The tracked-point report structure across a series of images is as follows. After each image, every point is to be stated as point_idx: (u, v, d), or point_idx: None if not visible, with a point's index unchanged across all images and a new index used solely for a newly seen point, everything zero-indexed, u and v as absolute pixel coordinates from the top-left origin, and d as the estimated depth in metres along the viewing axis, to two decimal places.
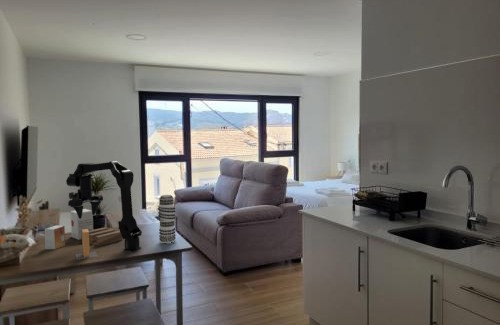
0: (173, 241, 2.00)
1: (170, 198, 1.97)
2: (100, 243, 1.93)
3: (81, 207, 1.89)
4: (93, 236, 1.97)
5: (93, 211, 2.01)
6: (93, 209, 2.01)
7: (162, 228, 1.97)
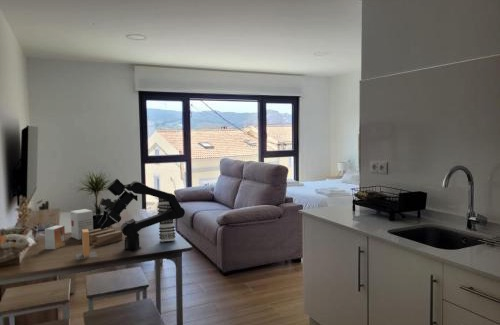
0: (173, 239, 2.00)
1: None
2: (100, 243, 1.93)
3: None
4: (93, 236, 1.97)
5: (101, 222, 1.84)
6: (102, 220, 1.85)
7: (162, 225, 1.98)
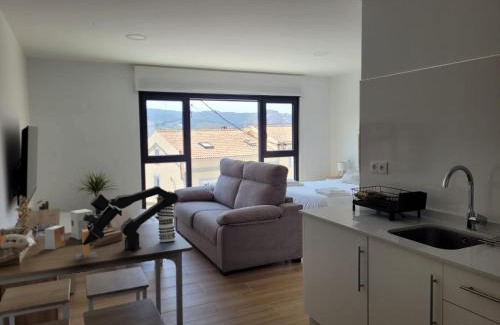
0: (173, 239, 2.00)
1: None
2: (100, 243, 1.93)
3: None
4: None
5: None
6: None
7: (161, 226, 1.98)
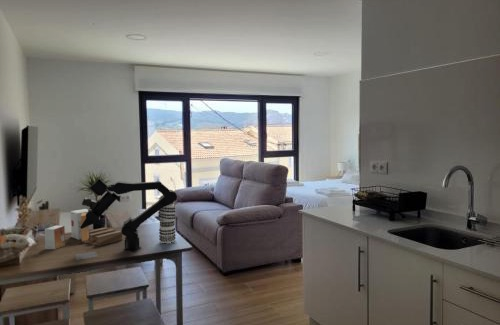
0: (173, 241, 1.99)
1: None
2: (100, 243, 1.93)
3: (94, 222, 1.77)
4: (93, 236, 1.97)
5: None
6: None
7: (162, 228, 1.97)
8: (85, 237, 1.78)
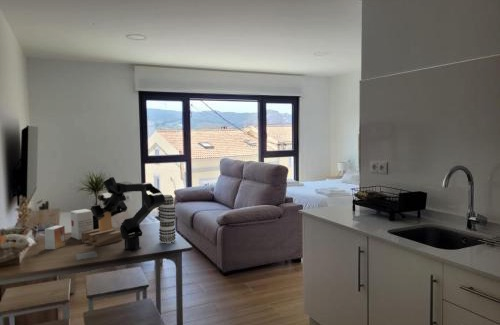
0: (173, 241, 1.99)
1: (170, 198, 1.97)
2: (100, 243, 1.93)
3: (102, 217, 1.93)
4: (93, 236, 1.97)
5: None
6: None
7: (162, 228, 1.97)
8: (100, 228, 1.98)
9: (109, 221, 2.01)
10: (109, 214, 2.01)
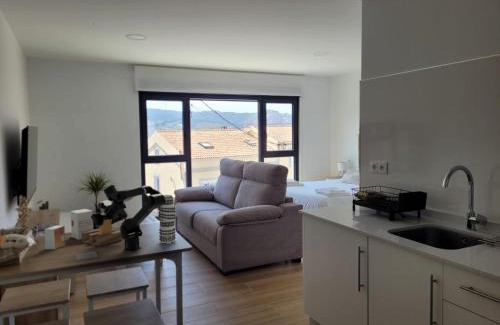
0: (173, 241, 1.99)
1: (170, 198, 1.97)
2: (100, 243, 1.93)
3: (100, 225, 1.93)
4: (93, 236, 1.97)
5: (111, 222, 2.04)
6: (112, 221, 2.04)
7: (162, 228, 1.97)
8: None
9: (109, 231, 2.02)
10: (109, 224, 2.01)
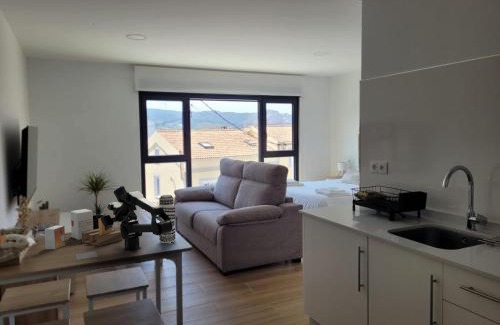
0: (173, 241, 1.99)
1: (170, 198, 1.97)
2: (100, 243, 1.93)
3: (109, 227, 1.88)
4: (93, 236, 1.97)
5: (122, 224, 1.99)
6: (122, 223, 1.99)
7: None
8: None
9: (109, 231, 2.02)
10: None
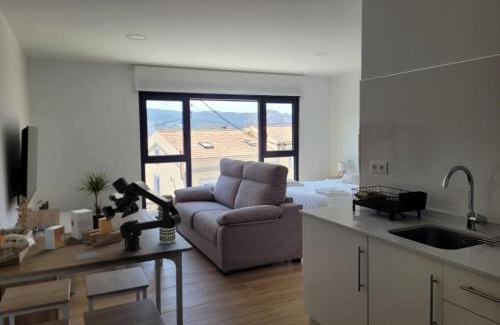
0: (173, 241, 1.99)
1: (170, 198, 1.97)
2: (100, 243, 1.93)
3: (111, 218, 1.86)
4: (93, 236, 1.97)
5: (123, 215, 1.97)
6: (124, 214, 1.97)
7: (162, 228, 1.97)
8: None
9: (109, 231, 2.02)
10: (109, 224, 2.02)
